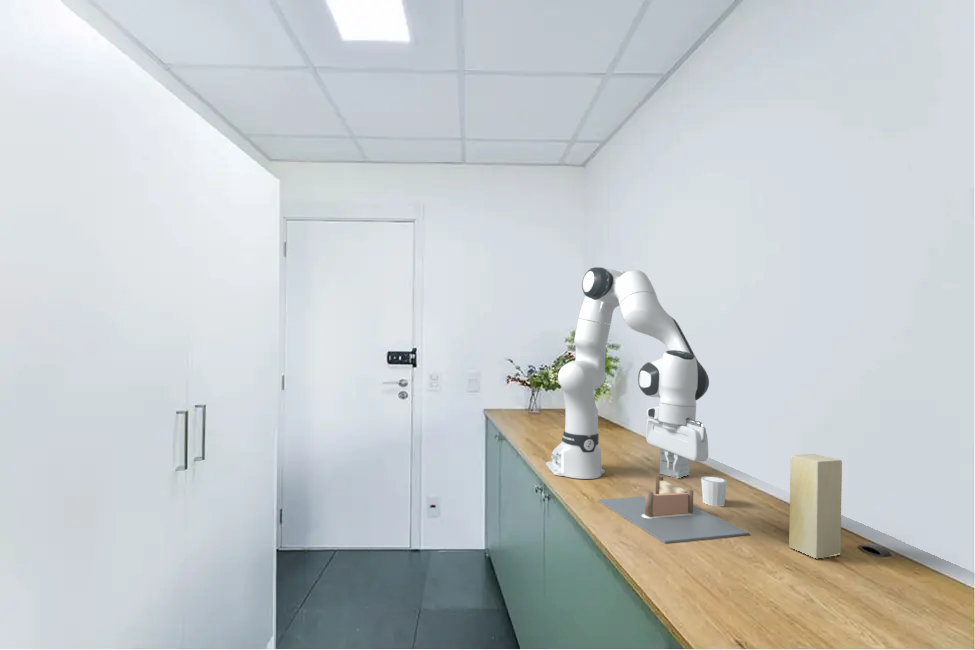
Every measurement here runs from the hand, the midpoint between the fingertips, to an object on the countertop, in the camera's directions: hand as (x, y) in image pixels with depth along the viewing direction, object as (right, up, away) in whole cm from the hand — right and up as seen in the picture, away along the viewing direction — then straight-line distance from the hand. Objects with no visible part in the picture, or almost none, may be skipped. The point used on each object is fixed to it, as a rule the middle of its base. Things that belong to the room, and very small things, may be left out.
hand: (673, 470), depth 126 cm
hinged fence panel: (+1, -13, +6) cm, 15 cm away
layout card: (0, -14, +6) cm, 15 cm away
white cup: (+18, -15, +19) cm, 30 cm away
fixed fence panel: (+5, -14, +15) cm, 21 cm away
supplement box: (+18, -16, +49) cm, 55 cm away
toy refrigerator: (+26, -15, -13) cm, 33 cm away
